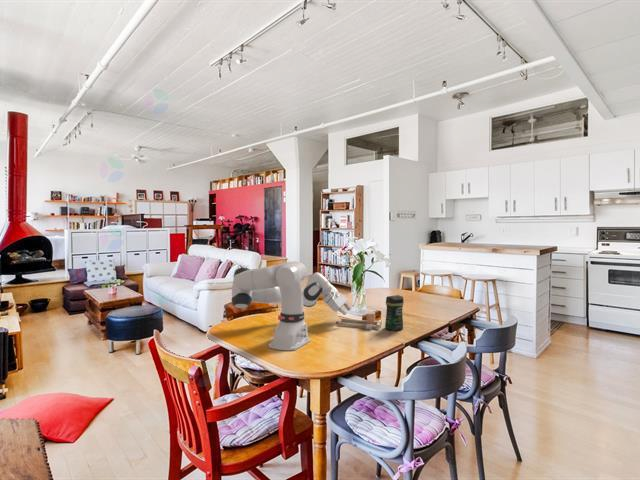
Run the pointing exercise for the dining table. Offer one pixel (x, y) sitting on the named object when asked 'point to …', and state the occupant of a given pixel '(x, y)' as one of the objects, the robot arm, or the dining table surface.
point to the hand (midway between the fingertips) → (347, 312)
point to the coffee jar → (394, 312)
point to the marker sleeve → (371, 318)
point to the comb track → (362, 325)
